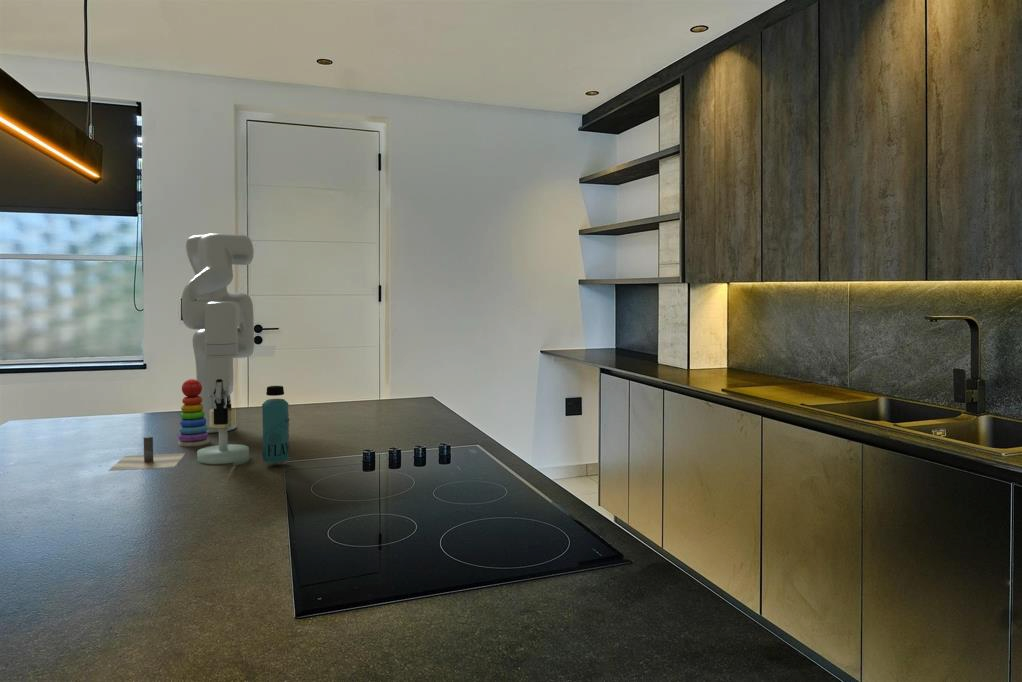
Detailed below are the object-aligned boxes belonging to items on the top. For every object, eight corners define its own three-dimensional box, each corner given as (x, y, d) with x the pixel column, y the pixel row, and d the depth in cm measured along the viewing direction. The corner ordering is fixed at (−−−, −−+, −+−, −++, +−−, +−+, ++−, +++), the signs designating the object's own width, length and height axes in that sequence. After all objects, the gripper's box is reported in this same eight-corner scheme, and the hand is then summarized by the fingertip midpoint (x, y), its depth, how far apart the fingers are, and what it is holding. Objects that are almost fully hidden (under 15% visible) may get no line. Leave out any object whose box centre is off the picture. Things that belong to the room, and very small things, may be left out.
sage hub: (201, 456, 170) (201, 422, 170) (251, 454, 174) (250, 421, 173) (193, 469, 159) (192, 432, 158) (246, 466, 162) (245, 430, 161)
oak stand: (125, 460, 166) (124, 432, 166) (185, 456, 170) (185, 430, 169) (108, 474, 153) (107, 445, 152) (174, 471, 157) (173, 442, 156)
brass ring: (211, 423, 167) (211, 408, 167) (237, 422, 169) (236, 407, 169) (208, 428, 161) (207, 412, 161) (234, 427, 163) (234, 411, 163)
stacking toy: (215, 443, 185) (214, 378, 184) (199, 450, 177) (197, 381, 176) (189, 442, 186) (187, 377, 184) (171, 449, 178) (170, 380, 177)
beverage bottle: (263, 470, 159) (262, 388, 157) (260, 463, 165) (259, 384, 163) (291, 467, 162) (291, 387, 160) (287, 461, 168) (286, 383, 166)
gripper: (210, 348, 171) (212, 416, 172) (199, 353, 155) (200, 429, 156) (241, 348, 173) (242, 415, 174) (233, 353, 157) (234, 427, 158)
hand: (222, 421), depth 165 cm, fingers closed on brass ring, 6 cm apart
